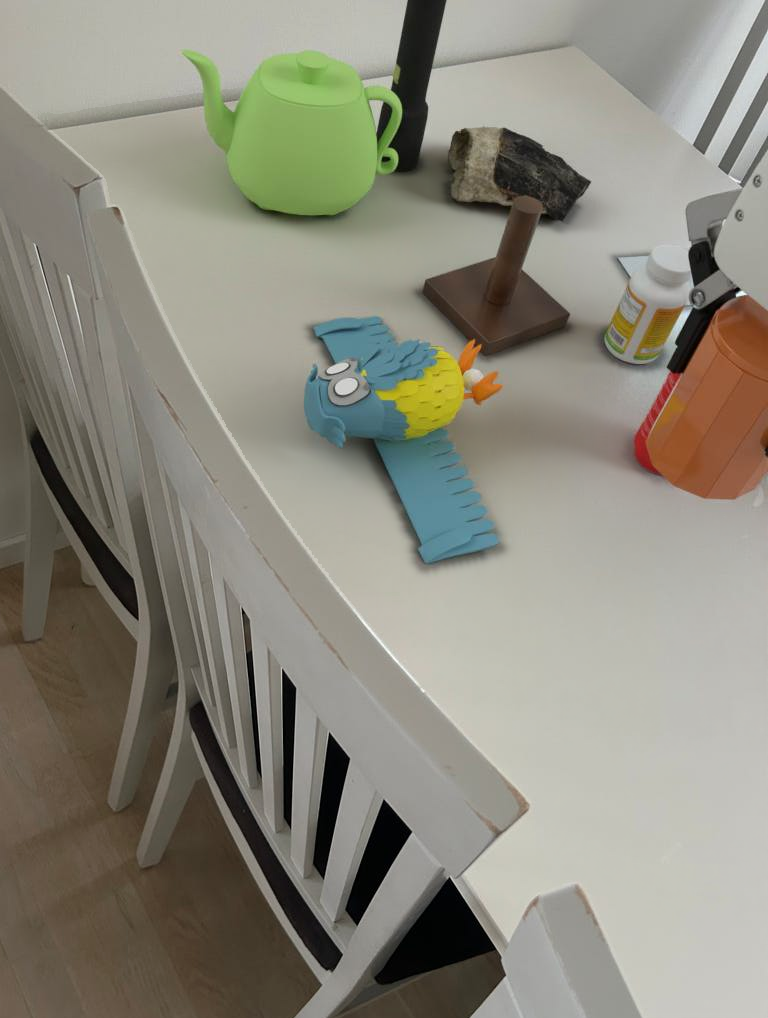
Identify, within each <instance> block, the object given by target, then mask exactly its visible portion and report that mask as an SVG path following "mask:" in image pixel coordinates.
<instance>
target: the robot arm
mask: <svg viewBox="0 0 768 1018" xmlns="http://www.w3.org/2000/svg"><path fill="white" fill-rule="evenodd" d="M684 213H685V220H686V221H685V222H686V226H687V229H686V230H687V237H688V242H690V245H691V246H690V248H689V249H688V258H689V264H690V269H691V274H692V279H693V285H694V288H693V289H691V291H690V293H689V302H690V304H691V305H690V306H691V310H690V312H689V314H688V316H687V318H686V320H685V321H684V324H683V325H682V327H681V330H680V331H679V333H678V335H677V337H676V339H675V341H674V345H675V346H676V348H675V350H674V351H673V353H672V355H671V357H670V359H669V361H668V363H667V365H666V368H667V370H668V371H669V372H670V371H671V372H672V373H673V374H675V373H677V374H680V373H682V372H683V370H684V368H685V366H686V364H687V363H688V361H689V359H690V357H691V355H692V354H693V352H694V350H695V348H696V346H697V344H698V343H699V341H700V339H701V337H702V335H703V333H704V332H705V330H706V328H707V326H708V324H709V323H710V321H711V319H712V317H713V315H714V313H715V312H716V310H718V309H719V308H720V307H721V306H722V305H723V304H724V303H726V302H727V301H728V300H730V299H732V298H735V297H737V295H738V294H739V293H741V292H743V293H744V294H745V295H748V296H750V297H751V298H752V299H753V300H755V301H756V302H757V303H758V304H759V305H761V306H762V307H763V308H764V309H766V310H767V311H768V149H766V151H765V153H764V155H763V156H762V157H761V159H760V161H759V162H758V163H757V164H756V167H755V168H754V170H753V171H752V172H751V175H750V176H749V178H748V179H747V181H746V183H745V184H744V186H743V187H741V188H737V189H732V190H729V191H724V192H720V193H716V194H711V195H707V196H704V197H702V198H698V199H695V200H692V201H690V202H689V203H688V204H687V205H686V207H685V212H684ZM764 451H765V452H766V453H765V455H766V456H767V457H768V445H767V447H766V448H765V450H764Z"/></svg>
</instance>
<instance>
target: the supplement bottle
mask: <svg viewBox="0 0 768 1018" xmlns="http://www.w3.org/2000/svg"><path fill="white" fill-rule="evenodd" d="M688 252H689V250H687V249H686V248H684V247H681V246H679V245H675V244H668V243H663V244H659V245H656V246H654V247H653V249H652V250H651V252H650V254H649V255H648V256H649V257H648V259H647V262H646V265H643V266H641V267H639V268H638V269H636V270H635V271H634V273H633V274H632V276H631V277H630V278H629V280H628V282H627V284H626V288H625V289H624V292H623V294H622V296H621V299H620V301H619V302H618V305H617V307H616V309H615V312H614V314H613V316H612V318H611V320H610V322H609V325H608V327H607V329H606V332H605V333H604V334H605V335H604V344H605V346H606V348H607V350H608V352H610V353H611V355H613V356H614V357H616V358H617V359H619V360H621V361H623V362H626V363H629V364H635V365H644V364H649V363H652V362H653V361H655V360H656V359H657V358H658V357H659V356H660V354H661V353H662V350H663V348H664V346H665V345H666V343H667V341H668V339H669V338H670V335H671V333H672V331H673V329H674V327H675V325H676V323H677V322H678V320H679V318H680V316H681V314H682V312H683V310H684V308H685V304H686V302H687V300H688V298H689V293H690V285H689V282H688V280H689V279H690V277H691V275H692V274H691V269H690V264H689V258H688Z"/></svg>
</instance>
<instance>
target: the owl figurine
mask: <svg viewBox="0 0 768 1018" xmlns="http://www.w3.org/2000/svg"><path fill="white" fill-rule="evenodd" d="M382 322H383V318H381V317H380V316H377V315H375V316H374V315H373V316H367V317H362V318H356V317H340V318H335V319H331V320H328V321H324V322H323V323H320V324H317V325H315V326H314V327H313V331H314V334H315V336H316V337H317V338H320V339H322V340H323V342H324V344H325V346H326V348H327V350H328V352H329V354H330V355H331V358H332V359H333V362H334V365H331V366H330V367H328V368H326V369H325V370H323V371H321V372H320V373H319V372H318V371H319V368H318V365H317V363H313V364H312V369H311V370H310V374H309V375H308V376H307V378H306V380H305V386H304V393H303V395H304V396H303V408H304V409H303V410H304V415H305V418H306V422H307V424H308V428H309V429H310V430H311V431H312V432H314V433H316V434H318V435H319V436H320V437H322V438H324V439H326V440H328V441H329V442H331V444H334V445H335V446H336V447H337V448H338V449H342V448H344V443H345V442H346V437H347V436H348V437H355V438H362V439H372V440H373V443H374V444H375V447H376V449H377V451H378V453H379V455H380V457H381V459H382V462H383V464H384V466H385V468H386V470H387V472H388V475H389V477H390V479H391V481H392V483H393V485H394V487H395V489H396V491H397V494H398V496H399V498H400V501H401V503H402V505H403V507H404V509H405V511H406V514H407V516H408V518H409V520H410V522H411V525H412V527H413V529H414V531H415V534H416V536H417V538H418V540H419V543H420V544H421V545H420V546H419V547H418V548H417V550H418V552H419V555H420V557H421V558H422V560H423V562H424V564H426V565H428V564H430V563H435V562H438V561H442V560H446V559H448V558H453V557H458V556H462V555H466V554H471V553H476V552H480V551H483V550H486V549H489V548H493V547H494V546H496V545H498V544H499V542H500V538H499V536H498V535H497V534H496V533H490V531H492V530H493V529H494V527H495V524H494V522H493V521H492V519H488V518H487V519H486V518H484V517H486V515H488V508H487V507H486V506H485V505H482V504H477V503H479V502H480V501H481V498H482V496H481V493H479V492H478V491H475V490H472V489H473V488H474V486H475V482H474V480H473V479H471V478H467V477H465V476H466V475H468V468H467V467H466V466H463V465H458V464H459V463H460V462H461V461H462V456H461V454H460V453H457V452H452V451H454V450H455V447H456V445H455V443H454V442H453V441H451V440H446V439H447V438H448V437H449V431H448V430H447V429H446V428H443V427H444V426H446V425H449V424H450V423H452V422H453V419H454V418H455V417H456V416H457V413H458V412H459V411H460V408H461V407H462V404H463V402H464V400H468V399H473V402H474V404H475V405H477V406H480V407H481V406H482V403H483V402H484V401H486V400H487V399H489V398H490V397H492V396H493V395H496V394H497V393H499V392H500V391H501V390H502V389H503V387H504V384H502V383H494V381H495V380H496V379H497V378H498V376H499V371H493V372H490V373H488V374H487V375H485V376H484V374H483V373H482V372H481V370H480V369H476V368H472V366H473V365H474V363H475V359H476V357H477V356H478V354H479V352H481V351H480V349H481V345H482V344H480V345H478V346H477V347H476V346H475V345H474V344H475V339H474V340H472V341H470V340H469V342H468V343H467V344H466V345H465V347H464V348H463V350H462V352H461V354H460V356H459V358H458V360H457V359H456V358H454V357H453V356H452V355H451V354H450V353H449V352H447V351H445V350H446V348H444V347H440V346H436V345H431V342H429V341H423V342H421V343H420V341H421V339H420V338H418V339H415V340H413V339H407V340H405V341H403V342H402V343H399V342H397V341H393V340H394V339H395V335H394V334H392V333H387V332H389V331H390V327H389V326H388V325H387V324H381V323H382ZM318 373H319V374H318ZM465 390H466V391H469V392H465ZM454 465H455V466H454ZM463 477H465V478H463ZM469 490H471V491H469ZM475 504H477V505H475ZM481 518H483V519H481ZM488 532H489V533H488Z"/></svg>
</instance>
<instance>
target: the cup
mask: <svg viewBox="0 0 768 1018" xmlns="http://www.w3.org/2000/svg"><path fill="white" fill-rule="evenodd" d="M767 445H768V311H767V310H766V309H764V308H763V307H762V306H761V305H759V304H758V303H757V302H756V301H755V300H753V299H752V298H751V297H750V296H748V295H747V294H743V295H739V296H736V297H735V298H732V299H730V300H728V301H727V302H726V303H724V304H723V305H722V306H721V307H720V308H719V309H718V310H716V312H715V313H714V315H713V317H712V319H711V321H710V323H709V324H708V326H707V328H706V330H705V332H704V333H703V335H702V337H701V339H700V341H699V343H698V344H697V346H696V348H695V350H694V352H693V354H692V355H691V357H690V359H689V361H688V363H687V364H686V366H685V368H684V370H683V372H682V374H681V375H680V377H679V379H678V381H677V383H676V384H675V386H674V388H673V390H672V392H671V394H670V395H669V397H668V399H667V401H666V403H665V405H664V406H663V408H662V410H661V412H660V414H659V415H658V417H657V419H656V421H655V423H654V425H653V427H652V429H651V431H650V433H649V436H648V438H647V440H646V447H647V450H648V453H649V456H650V459H651V462H652V465H653V466H654V467H655V468H656V469H657V470H658V471H659V472H660V473H661V474H662V475H661V476H663V477H664V478H665V479H666V480H667V481H668V482H669V483H670V484H671V485H672V486H674V487H675V488H677V489H680V490H682V491H685V492H687V493H689V494H692V495H693V496H696V497H698V498H701V499H705V500H725V501H726V500H731V501H734V500H736V499H738V498H740V497H742V496H744V495H746V494H748V493H750V492H753V491H754V490H756V488H757V487H758V486H759V484H760V483H761V481H762V480H763V479H764V478H765V476H766V475H767V474H768V457H767V456H766V455H765V453H766V452H765V451H764V450H765V448H766V447H767Z"/></svg>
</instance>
